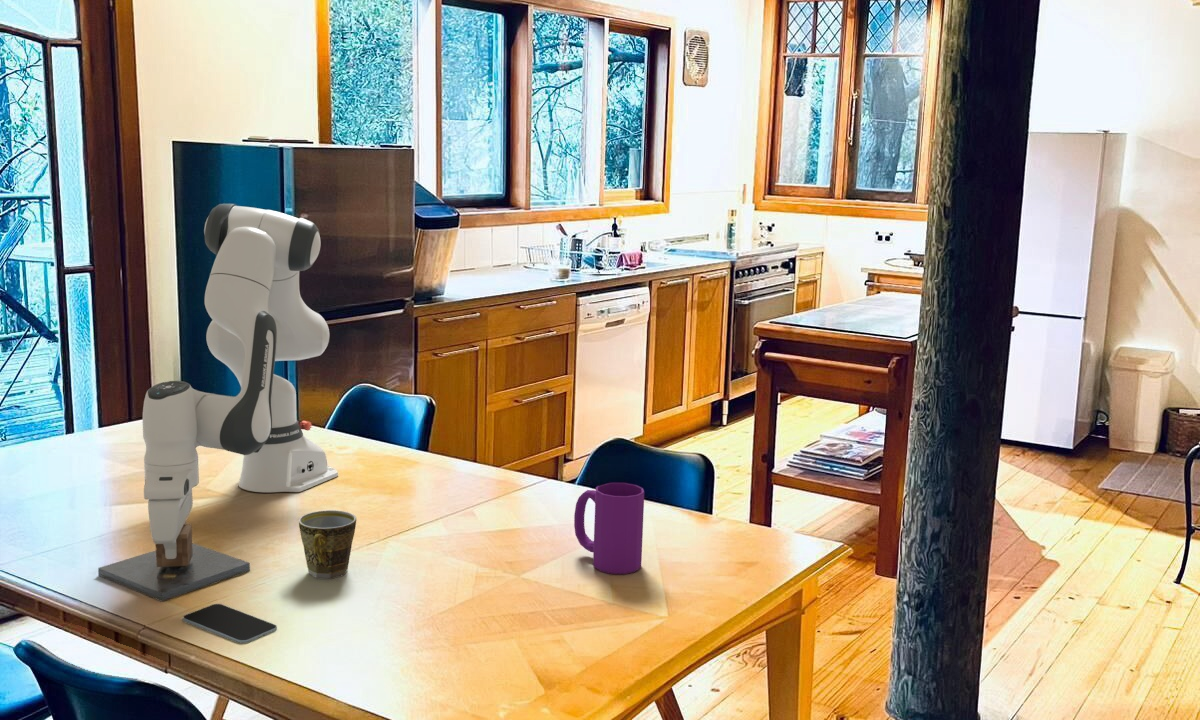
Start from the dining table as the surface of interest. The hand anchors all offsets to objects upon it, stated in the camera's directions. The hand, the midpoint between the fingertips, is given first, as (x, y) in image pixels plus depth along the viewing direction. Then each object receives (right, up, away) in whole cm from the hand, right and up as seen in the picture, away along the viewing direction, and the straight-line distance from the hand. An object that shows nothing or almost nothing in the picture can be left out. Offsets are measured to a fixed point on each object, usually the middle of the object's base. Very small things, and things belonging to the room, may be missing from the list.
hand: (174, 550), depth 202 cm
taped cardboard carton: (0, -2, 0) cm, 2 cm away
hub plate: (0, -4, +1) cm, 4 cm away
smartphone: (+16, -9, -19) cm, 27 cm away
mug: (+76, -5, +13) cm, 77 cm away
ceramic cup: (+26, -5, +2) cm, 27 cm away
